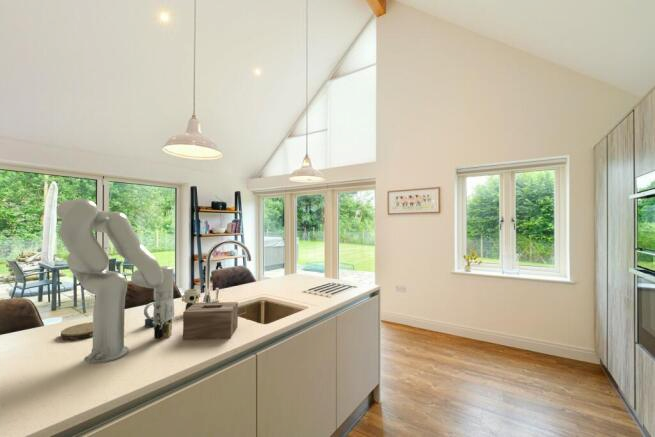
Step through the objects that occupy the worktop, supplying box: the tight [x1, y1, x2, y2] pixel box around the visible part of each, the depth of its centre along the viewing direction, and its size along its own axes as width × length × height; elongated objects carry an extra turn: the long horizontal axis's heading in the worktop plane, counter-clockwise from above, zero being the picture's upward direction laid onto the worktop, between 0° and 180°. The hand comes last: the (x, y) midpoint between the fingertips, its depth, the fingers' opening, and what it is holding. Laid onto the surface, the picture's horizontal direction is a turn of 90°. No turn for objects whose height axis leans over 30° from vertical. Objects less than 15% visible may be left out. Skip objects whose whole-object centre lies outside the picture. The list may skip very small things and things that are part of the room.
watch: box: [143, 301, 161, 328], centre depth 142 cm, size 6×8×11 cm
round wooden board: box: [60, 321, 93, 342], centre depth 131 cm, size 16×16×3 cm
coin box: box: [182, 301, 239, 341], centre depth 132 cm, size 14×20×12 cm
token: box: [159, 321, 173, 339], centre depth 127 cm, size 2×6×6 cm, turn 96°
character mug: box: [181, 288, 201, 311], centre depth 160 cm, size 11×7×13 cm, turn 148°
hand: (163, 334), depth 127 cm, fingers open, 8 cm apart
